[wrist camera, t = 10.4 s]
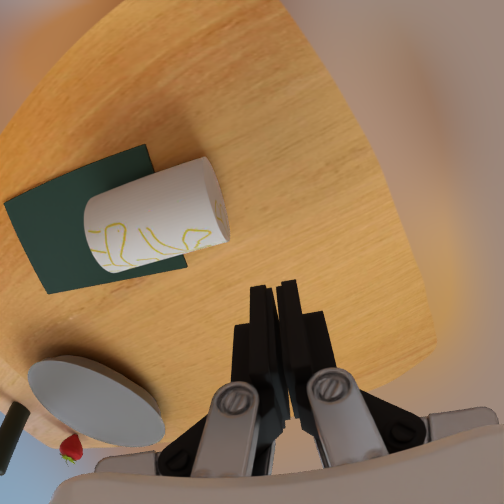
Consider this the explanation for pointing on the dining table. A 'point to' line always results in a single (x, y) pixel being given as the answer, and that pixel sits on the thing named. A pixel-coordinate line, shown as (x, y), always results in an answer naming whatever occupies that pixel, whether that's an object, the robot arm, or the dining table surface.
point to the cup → (157, 217)
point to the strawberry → (71, 448)
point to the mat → (77, 223)
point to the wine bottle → (11, 432)
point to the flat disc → (97, 401)
